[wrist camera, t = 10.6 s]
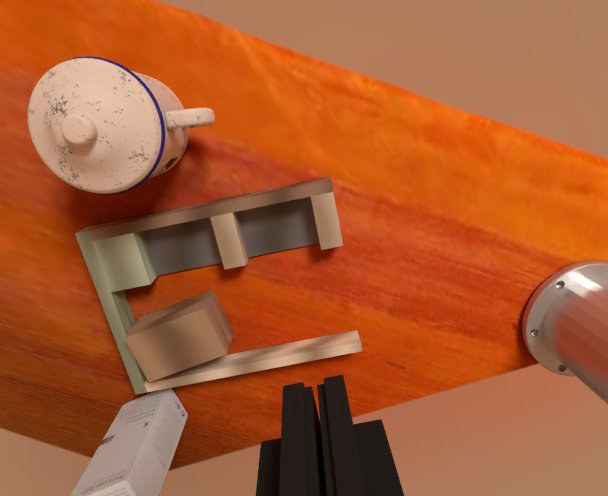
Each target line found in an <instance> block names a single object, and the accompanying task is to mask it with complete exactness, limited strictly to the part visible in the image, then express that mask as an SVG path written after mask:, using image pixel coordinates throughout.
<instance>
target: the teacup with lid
mask: <svg viewBox="0 0 608 496" xmlns="http://www.w3.org/2000/svg"><path fill="white" fill-rule="evenodd" d="M214 122H215V117H214V112H213V110H212V109H210V108H194V109H184V108H183V106H182V104H181V102H180V100H179V99H178V98H177V96H176V95H175V94H174V93H173V92H172V91H171V90H170V89H169V88H168V87H167V86H166V85H164V84H163V83H161V82H160V81H158V80H156V79H154V78H152V77H149V76H146V75H143V74H139V73H136V72H133V71H130V70H129V69H127V68H125V67H124V66H122V65H120V64H118V63H116V62H113V61H110V60H107V59H103V58H98V57H77V58H72V59H69V60H66V61H64V62H61V63H59V64H58V65H56V66H54V67H53V68H51V69H50V70H49V71H47V72H46V73H45V74H44V75H43V76H42V78H41V79H40V80H39V81H38V83H37V84H36V86H35V88H34V90H33V92H32V95H31V98H30V102H29V107H28V126H29V132H30V136H31V139H32V142H33V144H34V146H35V149H36V151H37V152H38V154H39V156H40V157H41V159H42V160H43V162H44V163H45V164H46V165H47V167H48V168H49V169H50V170H51V171H52V172H53V173H54V174H55V175H57V176H58V177H59V178H60V179H62V180H63V181H65V182H66V183H68V184H70V185H72V186H74V187H76V188H78V189H81V190H83V191H87V192H90V193H95V194H107V195H108V194H118V193H122V192H126V191H129V190H131V189H133V188H135V187H137V186H139V185H140V184H142V183H143V182H144V181H145V180H147V179H149V178H152V177H154V176H157V175H159V174H162V173H164V172H166V171H168V170H169V169H171V168H172V167H173V166H174V165H175V164H176V163H177V162H178V161H179V160H180V158H181V157H182V155H183V154H184V152H185V149H186V146H187V143H188V137H189V128H194V127H201V126H208V125H212V124H213V123H214Z"/></svg>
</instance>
